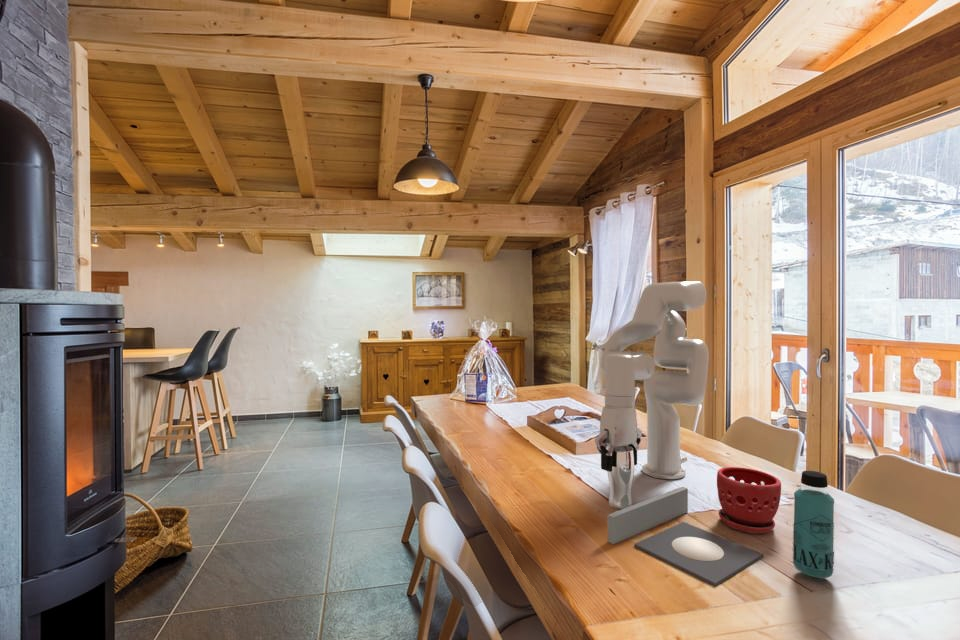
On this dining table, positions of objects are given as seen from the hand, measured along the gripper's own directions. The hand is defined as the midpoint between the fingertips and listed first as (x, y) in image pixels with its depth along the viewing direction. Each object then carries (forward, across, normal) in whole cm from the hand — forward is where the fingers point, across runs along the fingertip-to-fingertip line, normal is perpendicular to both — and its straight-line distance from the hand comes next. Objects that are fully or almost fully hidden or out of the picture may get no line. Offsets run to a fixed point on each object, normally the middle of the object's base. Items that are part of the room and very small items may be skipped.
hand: (619, 467), depth 123 cm
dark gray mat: (+10, +5, +25) cm, 27 cm away
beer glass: (+10, -1, 0) cm, 10 cm away
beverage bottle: (+11, -4, +43) cm, 44 cm away
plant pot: (+10, -16, +25) cm, 31 cm away
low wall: (+10, +3, +12) cm, 16 cm away
